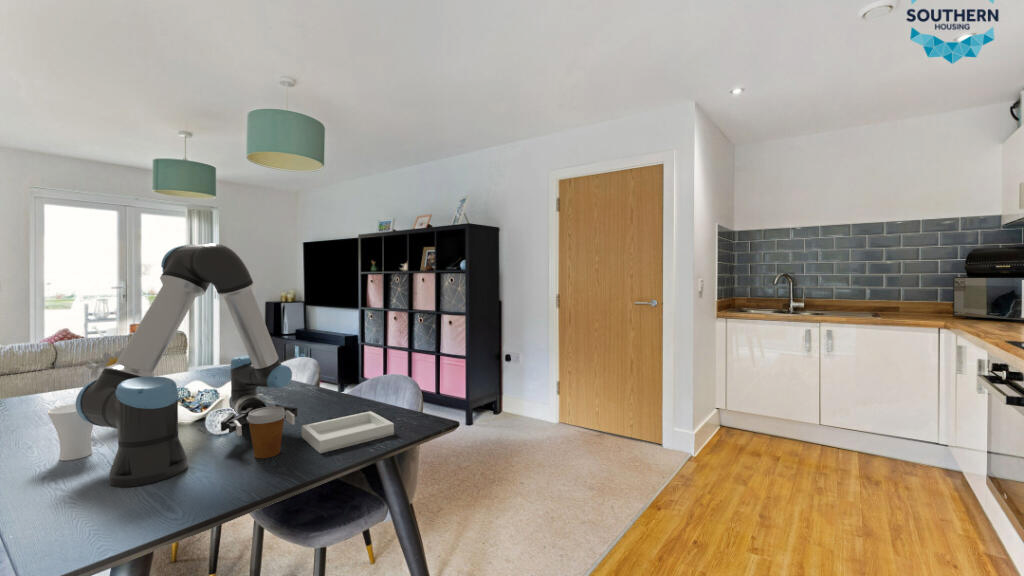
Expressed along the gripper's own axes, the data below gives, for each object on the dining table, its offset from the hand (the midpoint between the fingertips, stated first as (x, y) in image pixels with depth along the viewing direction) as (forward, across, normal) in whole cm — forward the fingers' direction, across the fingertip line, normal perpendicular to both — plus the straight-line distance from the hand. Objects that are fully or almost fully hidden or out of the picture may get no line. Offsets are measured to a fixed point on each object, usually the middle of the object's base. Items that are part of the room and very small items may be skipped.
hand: (267, 425), depth 126 cm
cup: (-31, +41, -7) cm, 51 cm away
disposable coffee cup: (+4, +1, -7) cm, 8 cm away
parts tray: (+5, -21, -7) cm, 23 cm away
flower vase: (-63, +30, -7) cm, 70 cm away
